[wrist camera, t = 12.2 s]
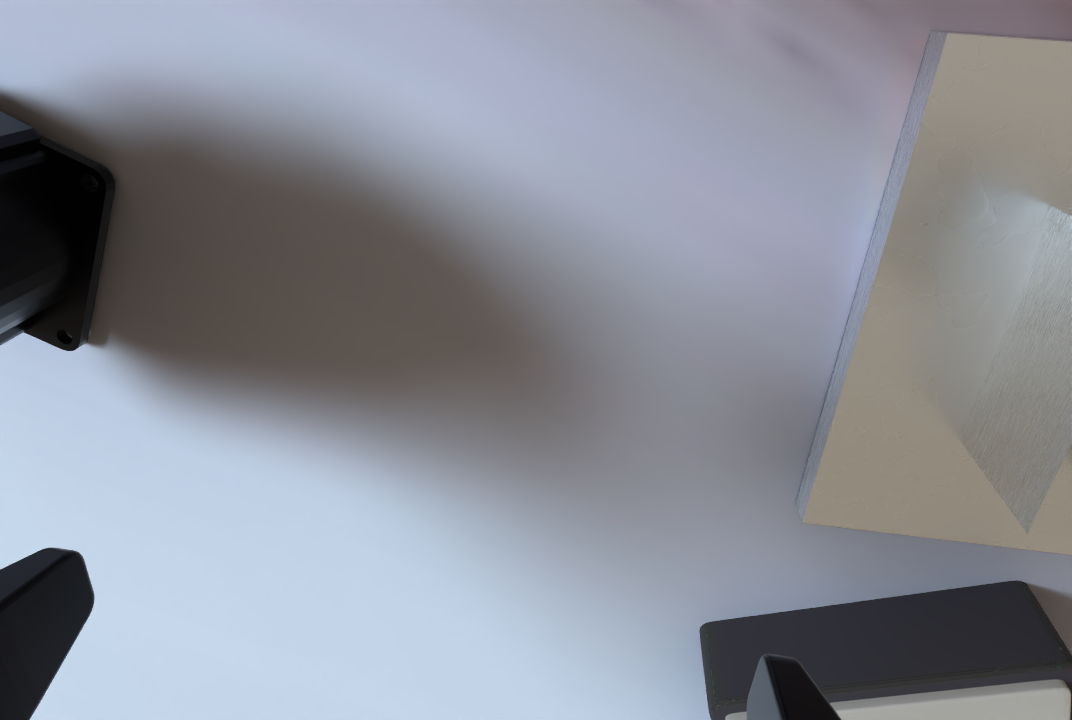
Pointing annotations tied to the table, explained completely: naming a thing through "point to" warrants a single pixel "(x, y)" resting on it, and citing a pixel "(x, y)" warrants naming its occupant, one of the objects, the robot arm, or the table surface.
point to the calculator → (905, 656)
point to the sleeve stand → (962, 314)
